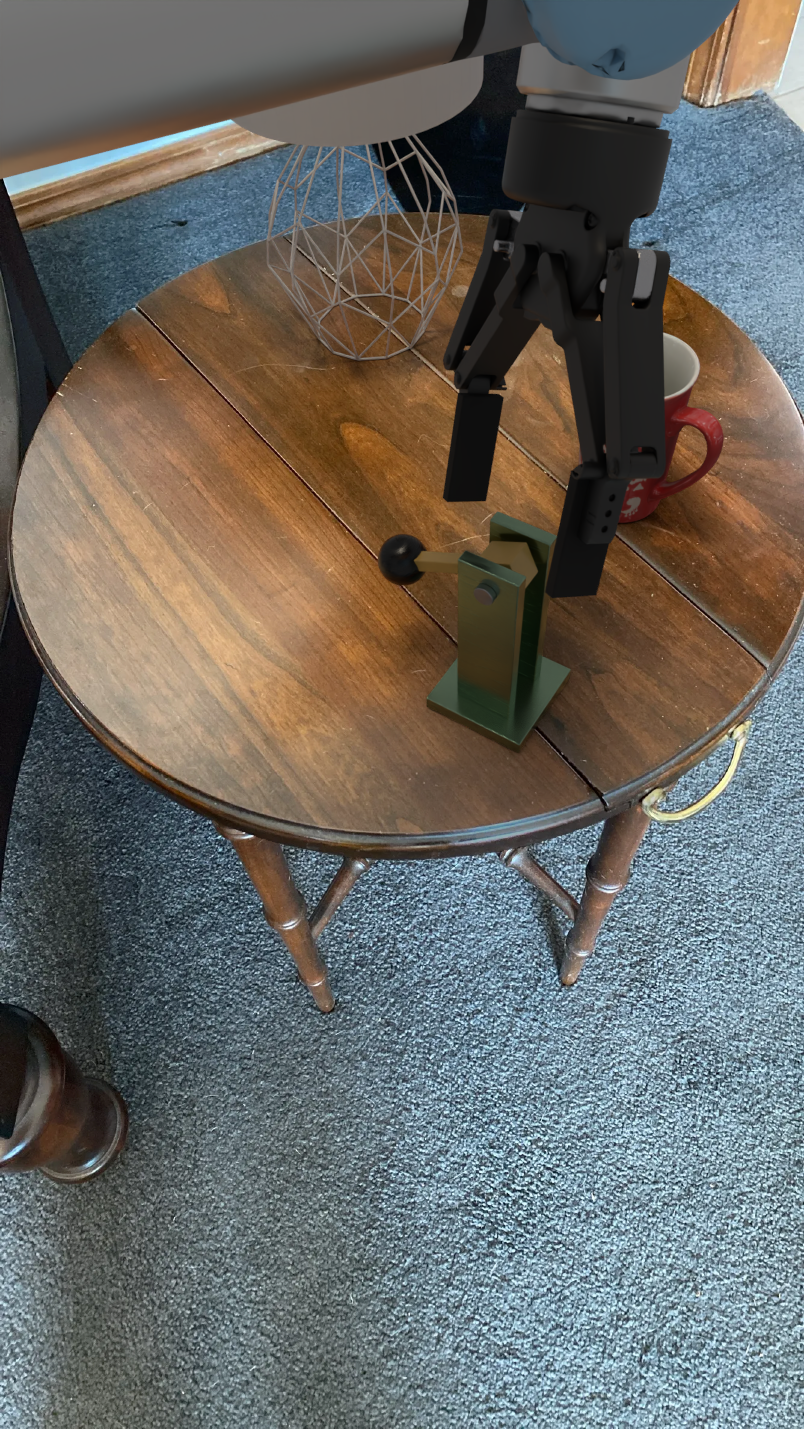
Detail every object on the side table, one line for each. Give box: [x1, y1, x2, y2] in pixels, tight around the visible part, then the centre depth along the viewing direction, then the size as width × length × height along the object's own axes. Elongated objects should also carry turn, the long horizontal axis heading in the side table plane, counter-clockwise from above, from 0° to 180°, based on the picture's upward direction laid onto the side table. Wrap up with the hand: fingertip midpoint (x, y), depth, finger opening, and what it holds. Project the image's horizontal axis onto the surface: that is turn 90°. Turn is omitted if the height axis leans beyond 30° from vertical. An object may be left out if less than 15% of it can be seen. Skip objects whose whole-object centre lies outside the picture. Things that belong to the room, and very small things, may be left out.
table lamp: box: [230, 55, 485, 362], centre depth 84 cm, size 22×22×40 cm
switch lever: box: [377, 533, 538, 589], centre depth 66 cm, size 12×4×4 cm, turn 57°
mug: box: [577, 332, 725, 524], centre depth 79 cm, size 13×9×14 cm
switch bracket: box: [425, 511, 572, 754], centre depth 68 cm, size 8×8×16 cm
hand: (512, 543), depth 56 cm, fingers open, 13 cm apart
